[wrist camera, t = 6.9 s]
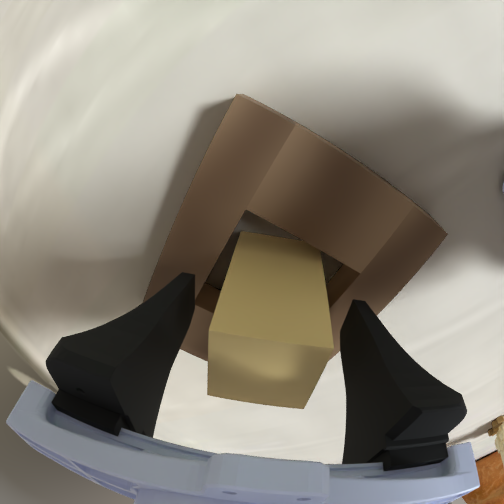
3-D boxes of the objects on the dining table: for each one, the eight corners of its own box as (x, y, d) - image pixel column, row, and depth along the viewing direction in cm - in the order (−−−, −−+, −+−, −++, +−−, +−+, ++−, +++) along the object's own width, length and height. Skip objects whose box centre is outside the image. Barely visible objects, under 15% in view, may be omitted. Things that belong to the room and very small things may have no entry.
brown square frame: (431, 217, 13) (447, 234, 12) (290, 371, 20) (289, 393, 18) (243, 94, 12) (236, 94, 10) (146, 305, 18) (134, 325, 17)
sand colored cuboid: (319, 243, 15) (333, 348, 9) (302, 303, 17) (303, 408, 11) (241, 230, 15) (208, 330, 9) (234, 292, 17) (207, 395, 11)
